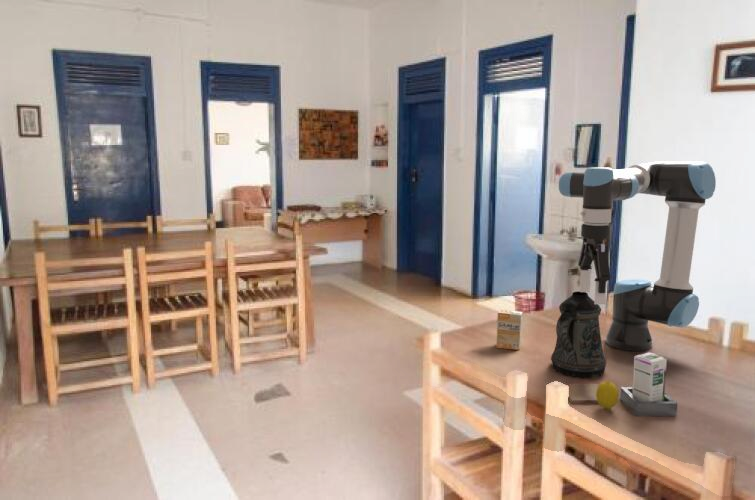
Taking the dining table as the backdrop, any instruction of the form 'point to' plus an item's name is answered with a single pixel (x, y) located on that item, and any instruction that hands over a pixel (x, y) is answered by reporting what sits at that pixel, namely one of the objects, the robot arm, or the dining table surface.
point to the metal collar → (648, 404)
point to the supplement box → (509, 329)
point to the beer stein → (579, 339)
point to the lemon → (607, 394)
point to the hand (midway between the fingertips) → (591, 297)
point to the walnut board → (583, 393)
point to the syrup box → (649, 377)
